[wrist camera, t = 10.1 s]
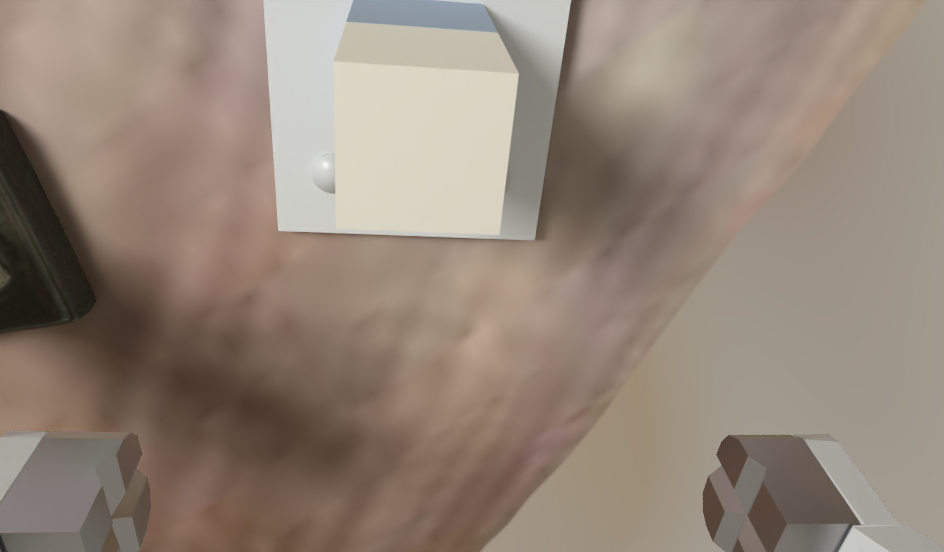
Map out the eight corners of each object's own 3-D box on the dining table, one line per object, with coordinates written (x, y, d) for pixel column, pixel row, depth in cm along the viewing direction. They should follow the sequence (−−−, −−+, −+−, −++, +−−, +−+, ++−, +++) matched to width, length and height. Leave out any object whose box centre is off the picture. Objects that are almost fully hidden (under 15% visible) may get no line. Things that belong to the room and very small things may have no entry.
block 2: (346, 21, 23) (333, 61, 18) (497, 32, 23) (518, 73, 19) (347, 164, 25) (336, 228, 21) (483, 171, 26) (499, 234, 22)
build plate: (255, -185, 24) (250, -186, 23) (588, -150, 26) (595, -150, 25) (280, 222, 33) (277, 232, 32) (532, 232, 34) (535, 242, 33)
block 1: (355, -6, 27) (346, 21, 23) (483, 4, 27) (497, 32, 23) (355, 119, 29) (347, 164, 25) (472, 125, 30) (483, 171, 26)
